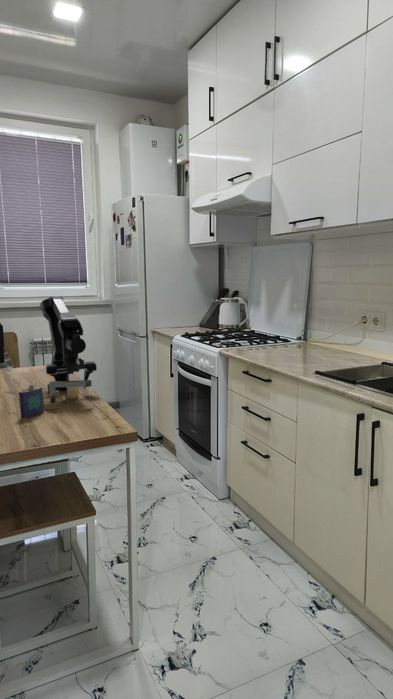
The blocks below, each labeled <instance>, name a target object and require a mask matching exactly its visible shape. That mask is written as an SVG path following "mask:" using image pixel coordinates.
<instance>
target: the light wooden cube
mask: <svg viewBox="0 0 393 699" xmlns="http://www.w3.org/2000/svg"><path fill="white" fill-rule="evenodd" d="M79 394H80V393H79V387H67V390H66V396H67V398H68V399H76V398H77V397H78V398H80V396H79Z"/></svg>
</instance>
